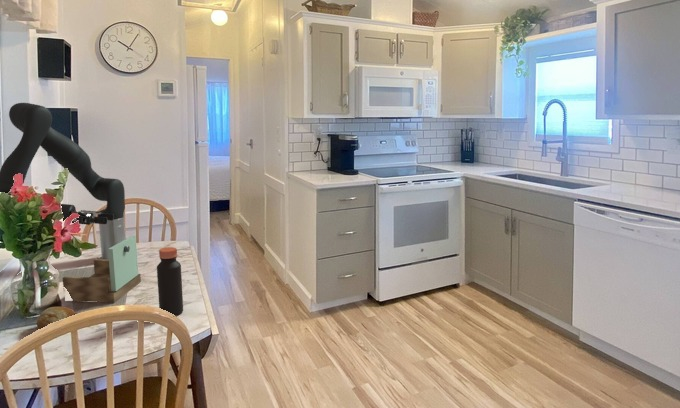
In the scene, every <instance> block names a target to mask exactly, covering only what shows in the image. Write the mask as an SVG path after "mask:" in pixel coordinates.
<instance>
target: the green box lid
mask: <svg viewBox="0 0 680 408" xmlns="http://www.w3.org/2000/svg"><path fill="white" fill-rule="evenodd" d="M137 248H138V247H137V236H136V235H130V236H128V237H127V238H125V240H123V241H122V242H120V243H118V244H116V245H114V246H113V247H111V248H109V249H108V256H109V268H110V280H111V291H117V290H118V289H120V288H121V287H122V286H124V285H125V284H126V283H128V282H129V281H130V280H132V279H133V278H134V277H136V276H137V275H138V274H139V265H138V264H139V263H138V250H137Z"/></svg>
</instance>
